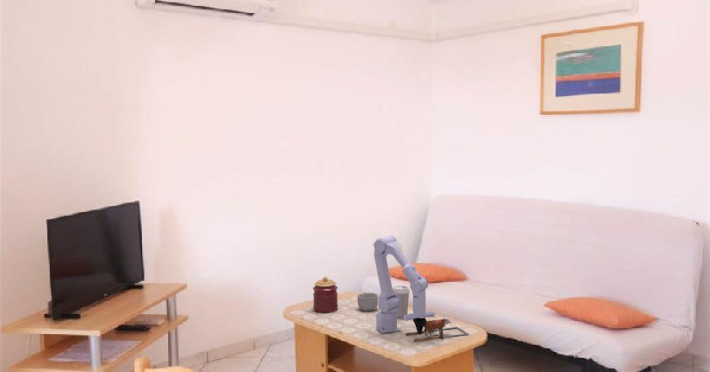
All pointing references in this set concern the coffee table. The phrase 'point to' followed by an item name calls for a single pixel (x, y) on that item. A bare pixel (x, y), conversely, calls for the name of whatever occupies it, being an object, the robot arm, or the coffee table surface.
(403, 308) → the coffee cup
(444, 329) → the frame
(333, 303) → the canister
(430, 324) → the bull figurine
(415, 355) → the coffee table surface
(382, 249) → the robot arm
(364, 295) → the teacup
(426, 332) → the pair of brown bars
